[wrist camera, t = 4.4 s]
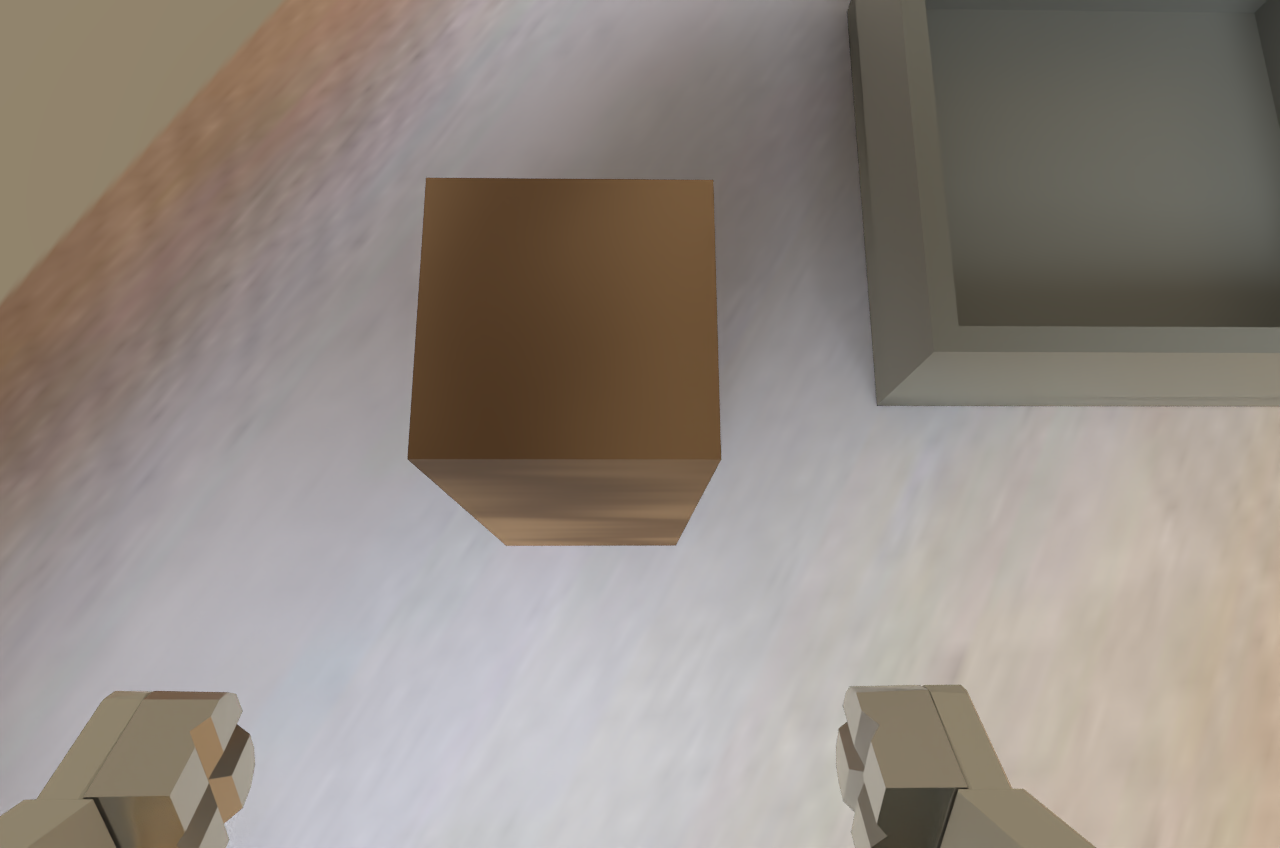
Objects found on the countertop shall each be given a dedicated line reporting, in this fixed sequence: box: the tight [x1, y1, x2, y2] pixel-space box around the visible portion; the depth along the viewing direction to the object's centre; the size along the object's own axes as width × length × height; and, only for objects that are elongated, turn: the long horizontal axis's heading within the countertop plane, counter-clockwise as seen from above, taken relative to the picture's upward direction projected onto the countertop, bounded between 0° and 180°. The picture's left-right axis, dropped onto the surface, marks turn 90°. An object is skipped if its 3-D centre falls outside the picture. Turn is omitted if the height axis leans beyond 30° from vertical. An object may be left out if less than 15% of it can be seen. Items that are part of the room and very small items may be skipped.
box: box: [847, 0, 1280, 407], centre depth 26 cm, size 14×14×5 cm
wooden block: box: [408, 178, 721, 546], centre depth 20 cm, size 5×5×12 cm
